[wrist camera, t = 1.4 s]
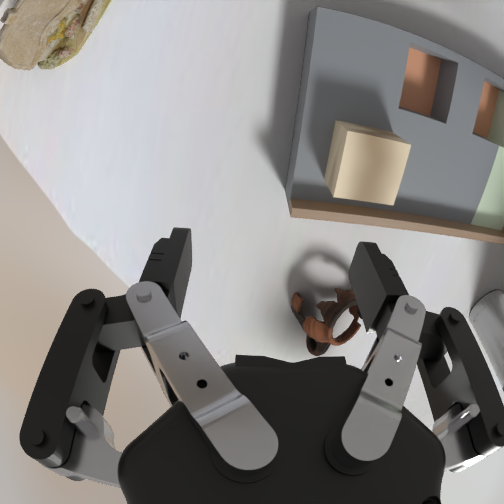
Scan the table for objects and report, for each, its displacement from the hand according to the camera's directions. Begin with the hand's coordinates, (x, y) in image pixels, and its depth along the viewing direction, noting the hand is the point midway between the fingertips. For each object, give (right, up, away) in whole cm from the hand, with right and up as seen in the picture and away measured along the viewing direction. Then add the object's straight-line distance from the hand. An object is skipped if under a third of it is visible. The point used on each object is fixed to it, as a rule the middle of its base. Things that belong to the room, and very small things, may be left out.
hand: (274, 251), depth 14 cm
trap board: (+20, +14, +15) cm, 28 cm away
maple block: (+9, +9, +13) cm, 19 cm away
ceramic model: (-22, +26, +7) cm, 34 cm away
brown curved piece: (+10, -8, +31) cm, 34 cm away
